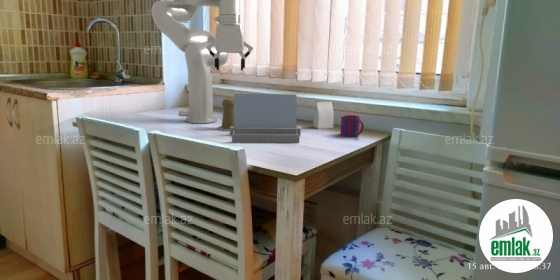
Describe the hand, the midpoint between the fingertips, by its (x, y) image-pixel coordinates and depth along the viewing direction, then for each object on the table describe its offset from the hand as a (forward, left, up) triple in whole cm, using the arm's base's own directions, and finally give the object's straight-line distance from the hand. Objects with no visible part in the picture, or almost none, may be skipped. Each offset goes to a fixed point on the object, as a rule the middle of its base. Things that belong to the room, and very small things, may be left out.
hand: (229, 69), depth 152 cm
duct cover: (+13, -9, -14) cm, 21 cm away
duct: (+13, -17, -22) cm, 30 cm away
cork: (0, 0, -22) cm, 22 cm away
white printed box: (+36, +4, -22) cm, 43 cm away
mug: (+44, -12, -22) cm, 51 cm away
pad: (0, 0, -22) cm, 22 cm away
